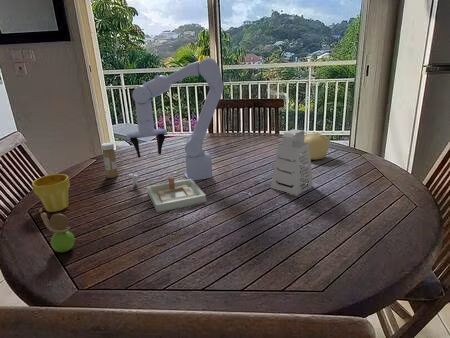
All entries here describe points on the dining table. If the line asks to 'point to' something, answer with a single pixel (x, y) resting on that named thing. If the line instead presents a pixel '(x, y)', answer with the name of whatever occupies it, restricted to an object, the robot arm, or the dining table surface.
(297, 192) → the grater
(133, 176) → the T-head stake
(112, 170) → the sprinkles bottle
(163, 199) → the birch frame
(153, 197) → the sage tray
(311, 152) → the yellow round pot
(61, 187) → the plant pot
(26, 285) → the dining table surface
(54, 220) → the snail figurine
